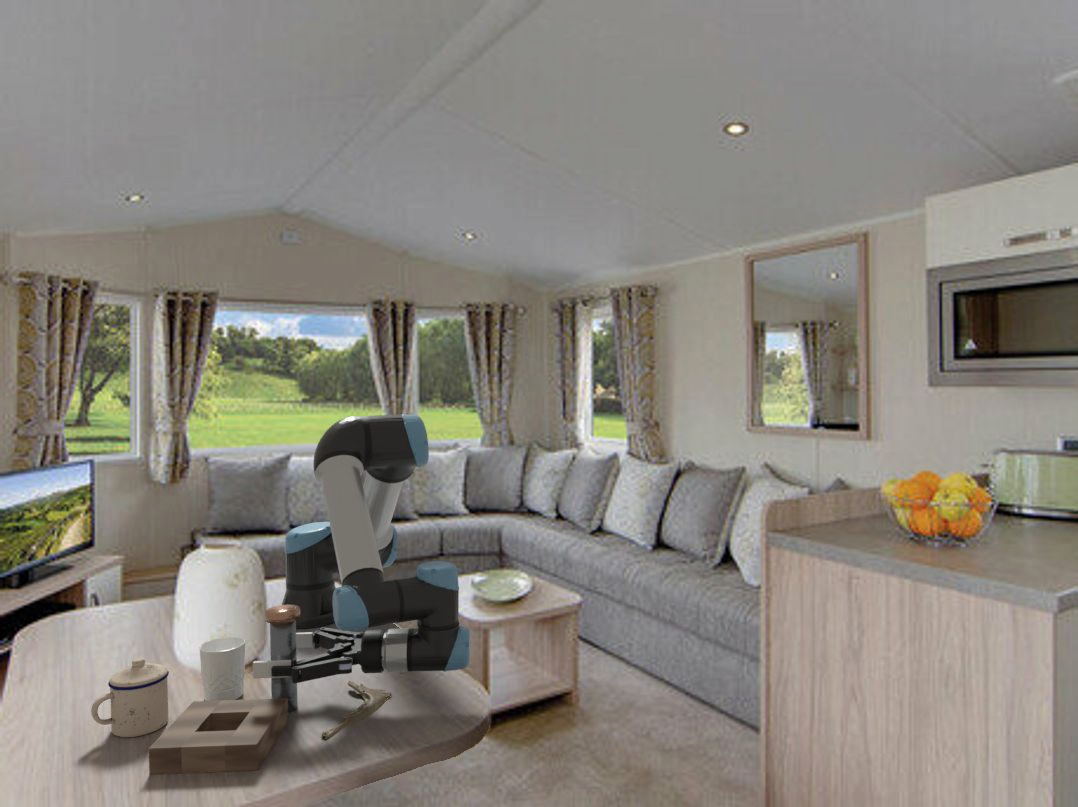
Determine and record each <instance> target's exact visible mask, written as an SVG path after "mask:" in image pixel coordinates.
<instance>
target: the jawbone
mask: <svg viewBox="0 0 1078 807" xmlns="http://www.w3.org/2000/svg"><path fill="white" fill-rule="evenodd" d="M346 684H347V686H349V687H350V688H352V689H353V690H354V691H356V692H358V694H360V696H361V697H362V699H363V700H364V701H363V702H362V703H361V705H360V706H358V707H357V708H356V709H355V710H354V709H353V711H351V712H348V714H345V715H343V718H344V719H345V720H344V721H343V722H342V723H339V724H338V725H336V726H334V727H333V728H330V729H327V730H326V731H322V733H321V736H320V737H321V739H323V740H327V739H330V738H331V737H332V738H333V736H334V735H336V734H337V733H338V732H340V731H341V730H343V729H345V728H347V727H349V726H350V725H351V726H352V725H353V724H355V723H357V722H359V721H361V720H364V719H366V718H368V717H369V716H372V715H373V714H374V713H376V712H377V711H378V710H379V709H380V708H381V707H382V706H383V705H384V703H385V702H386V701H387V700H388V699H387V698H389V697H390V696H391V697H392V693H391V692H390V691H389V690H386V689H378V688H377V689H375V688H371V687H370V688H369V687H366V686H365V685H364V684H363V683H360V685H359V684H357V683H355V682H354V681H351V680H349V681H348V682H347V683H346ZM365 691H366V692H365ZM391 697H390V698H391ZM390 698H389V699H390ZM386 699H387V700H386ZM385 700H386V701H385ZM382 704H383V705H382Z"/></svg>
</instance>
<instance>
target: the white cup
mask: <svg viewBox="0 0 1078 807" xmlns="http://www.w3.org/2000/svg"><path fill="white" fill-rule="evenodd" d="M199 658H200V659H199V660H200V670H201V682H202V687H203V697H204V701H220V700H239V698H241V697H242V696H243V695H244V689H245V688H244V687H245V686H244V685H245V684H244V682H245V681H244V679H245V667H246V639H244V638H243V637H240V636H225V637H224V636H223V637H219V638H218V637H217V638H213V639H210V640H207V641H205V642H204V643H202V644H200V646H199Z"/></svg>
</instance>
